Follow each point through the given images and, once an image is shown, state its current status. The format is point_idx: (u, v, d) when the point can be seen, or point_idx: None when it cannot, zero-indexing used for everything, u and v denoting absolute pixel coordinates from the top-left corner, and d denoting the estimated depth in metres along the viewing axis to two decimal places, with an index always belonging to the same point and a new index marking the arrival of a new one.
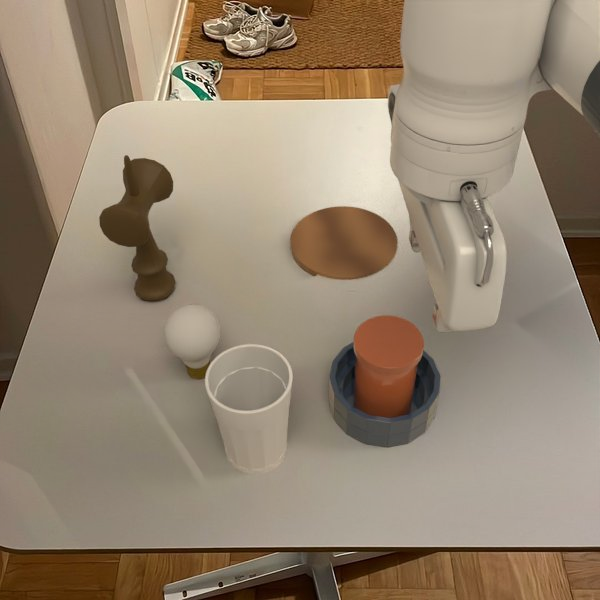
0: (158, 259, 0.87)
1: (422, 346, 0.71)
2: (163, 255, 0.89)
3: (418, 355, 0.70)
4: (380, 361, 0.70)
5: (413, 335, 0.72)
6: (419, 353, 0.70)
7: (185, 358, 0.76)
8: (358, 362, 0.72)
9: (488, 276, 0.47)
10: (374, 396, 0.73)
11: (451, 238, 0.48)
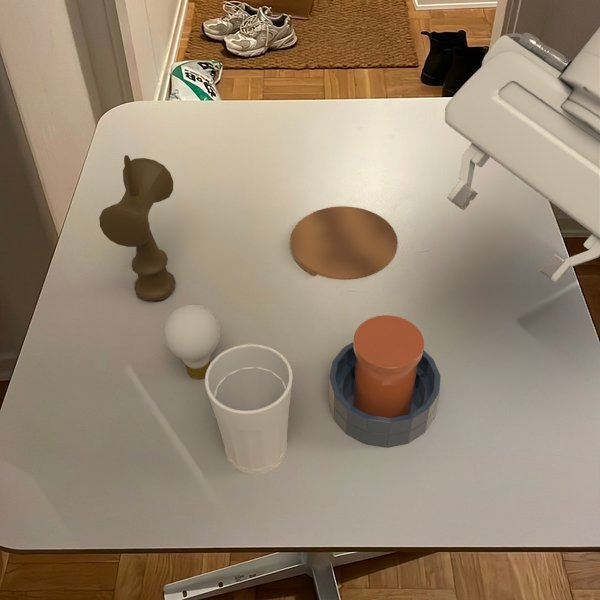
0: (158, 259, 0.87)
1: (422, 346, 0.71)
2: (163, 255, 0.89)
3: (418, 355, 0.70)
4: (380, 361, 0.70)
5: (413, 335, 0.72)
6: (419, 353, 0.70)
7: (185, 358, 0.76)
8: (358, 362, 0.72)
9: (487, 53, 0.59)
10: (374, 396, 0.73)
11: None
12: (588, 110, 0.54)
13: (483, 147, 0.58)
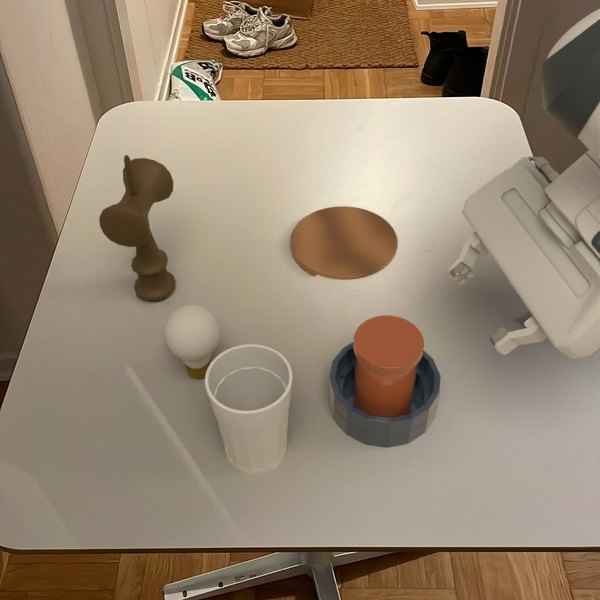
0: (158, 259, 0.87)
1: (422, 346, 0.71)
2: (163, 255, 0.89)
3: (418, 355, 0.70)
4: (380, 361, 0.70)
5: (413, 335, 0.72)
6: (419, 353, 0.70)
7: (185, 358, 0.76)
8: (358, 362, 0.72)
9: None
10: (374, 396, 0.73)
11: None
12: (550, 214, 0.65)
13: (478, 234, 0.71)
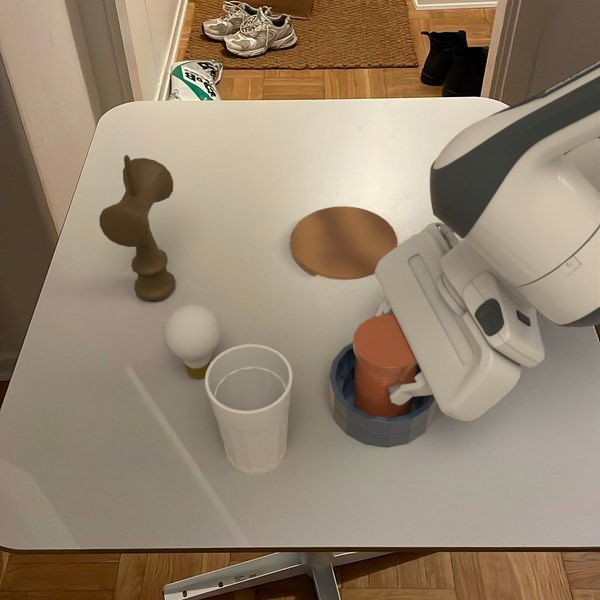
0: (158, 259, 0.87)
1: None
2: (163, 255, 0.89)
3: None
4: (380, 361, 0.70)
5: None
6: None
7: (185, 358, 0.76)
8: (358, 362, 0.72)
9: (420, 233, 0.77)
10: (374, 396, 0.73)
11: None
12: (444, 283, 0.69)
13: (386, 296, 0.75)
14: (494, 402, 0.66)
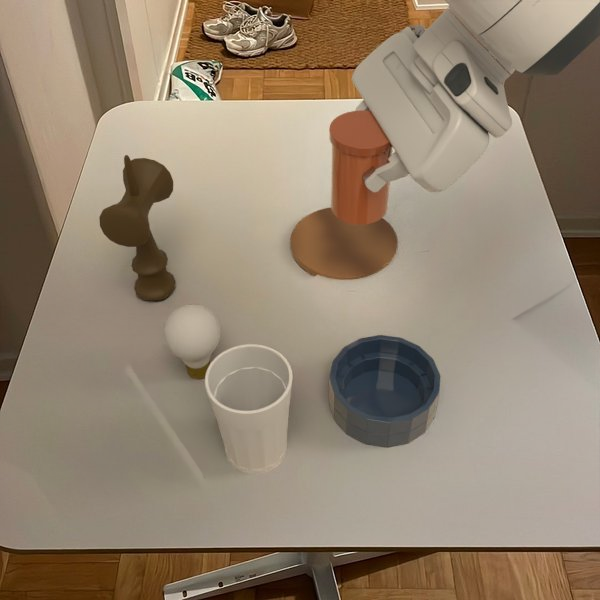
0: (158, 259, 0.87)
1: None
2: (163, 255, 0.89)
3: None
4: (354, 143, 0.72)
5: None
6: None
7: (185, 358, 0.76)
8: (334, 152, 0.75)
9: None
10: (350, 188, 0.76)
11: None
12: (416, 65, 0.71)
13: (362, 95, 0.78)
14: (463, 169, 0.68)
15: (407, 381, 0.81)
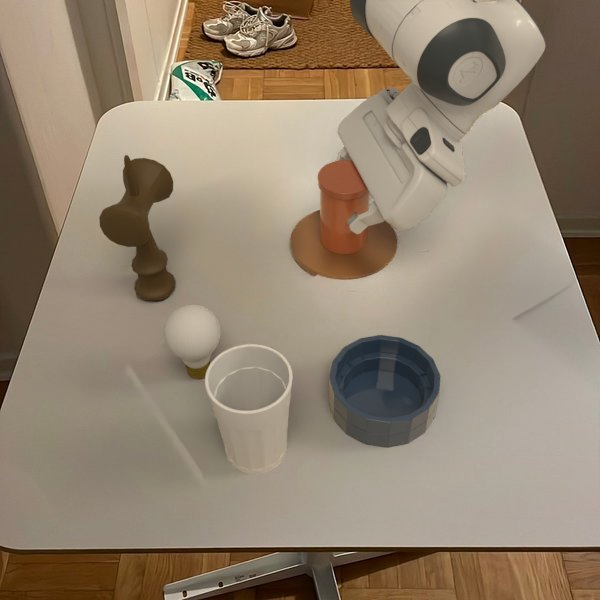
0: (158, 259, 0.87)
1: None
2: (163, 255, 0.89)
3: None
4: (338, 189, 0.88)
5: None
6: None
7: (185, 358, 0.76)
8: (321, 195, 0.90)
9: None
10: (335, 224, 0.91)
11: None
12: (389, 125, 0.86)
13: (345, 146, 0.93)
14: (426, 213, 0.83)
15: (407, 381, 0.81)
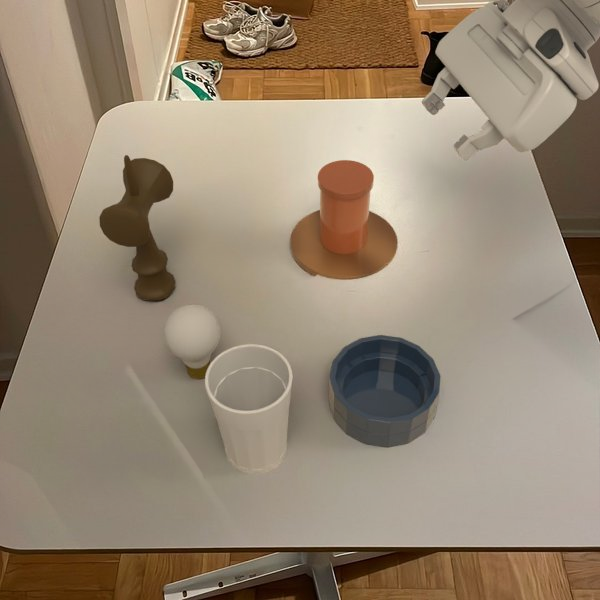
0: (158, 259, 0.87)
1: (372, 179, 0.89)
2: (163, 255, 0.89)
3: (368, 185, 0.88)
4: (338, 189, 0.88)
5: (365, 172, 0.90)
6: (369, 184, 0.88)
7: (185, 358, 0.76)
8: (321, 195, 0.90)
9: None
10: (335, 224, 0.91)
11: None
12: (505, 34, 0.76)
13: (447, 66, 0.82)
14: (552, 129, 0.72)
15: (407, 381, 0.81)
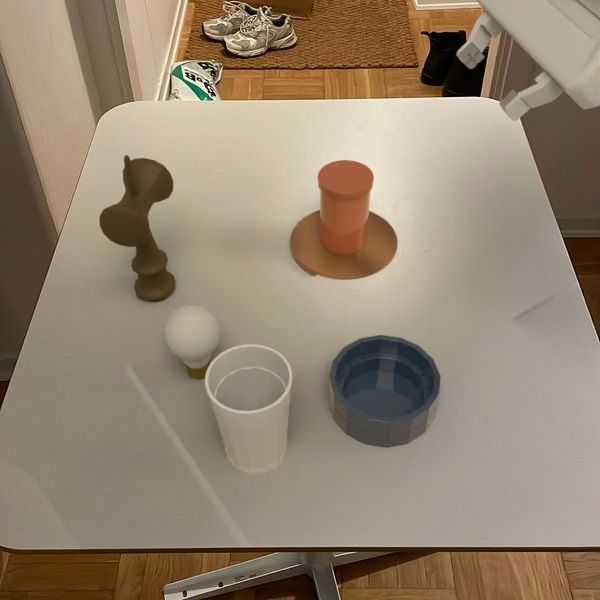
0: (158, 259, 0.87)
1: (372, 179, 0.89)
2: (163, 255, 0.89)
3: (368, 185, 0.88)
4: (338, 189, 0.88)
5: (365, 172, 0.90)
6: (369, 184, 0.88)
7: (185, 358, 0.76)
8: (321, 195, 0.90)
9: None
10: (335, 224, 0.91)
11: None
12: None
13: (489, 9, 0.69)
14: None
15: (407, 381, 0.81)
